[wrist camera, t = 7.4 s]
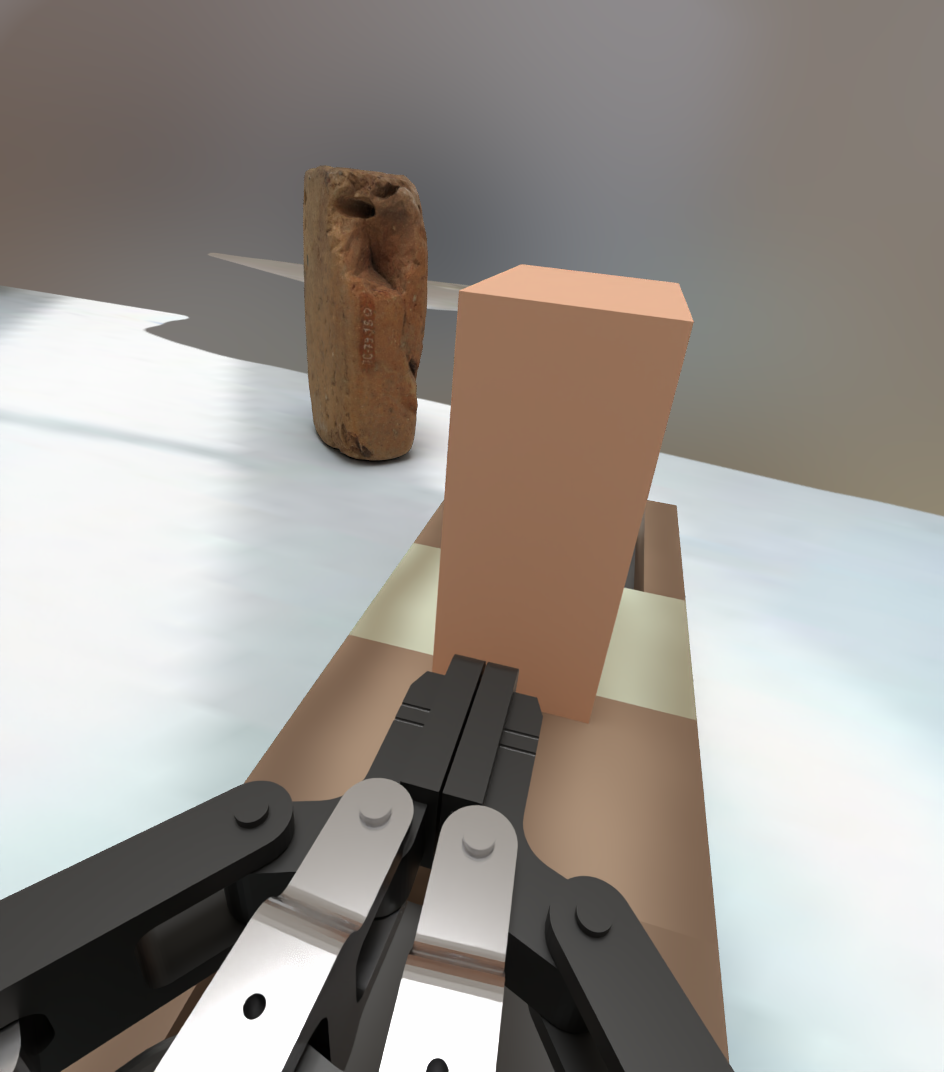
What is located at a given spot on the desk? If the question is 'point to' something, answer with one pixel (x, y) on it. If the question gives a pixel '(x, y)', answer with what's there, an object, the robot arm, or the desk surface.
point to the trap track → (554, 794)
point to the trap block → (551, 469)
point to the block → (364, 308)
